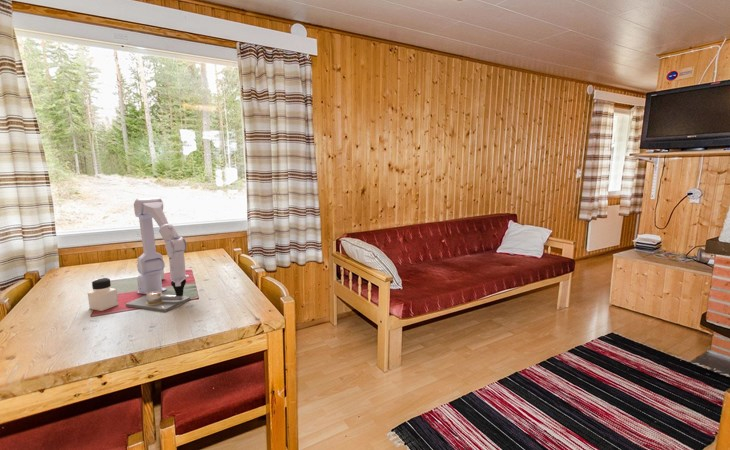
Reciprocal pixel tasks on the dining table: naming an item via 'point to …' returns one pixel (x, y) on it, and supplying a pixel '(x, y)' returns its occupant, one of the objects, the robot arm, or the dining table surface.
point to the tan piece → (161, 297)
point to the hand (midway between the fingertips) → (179, 297)
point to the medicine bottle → (102, 295)
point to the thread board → (157, 304)
